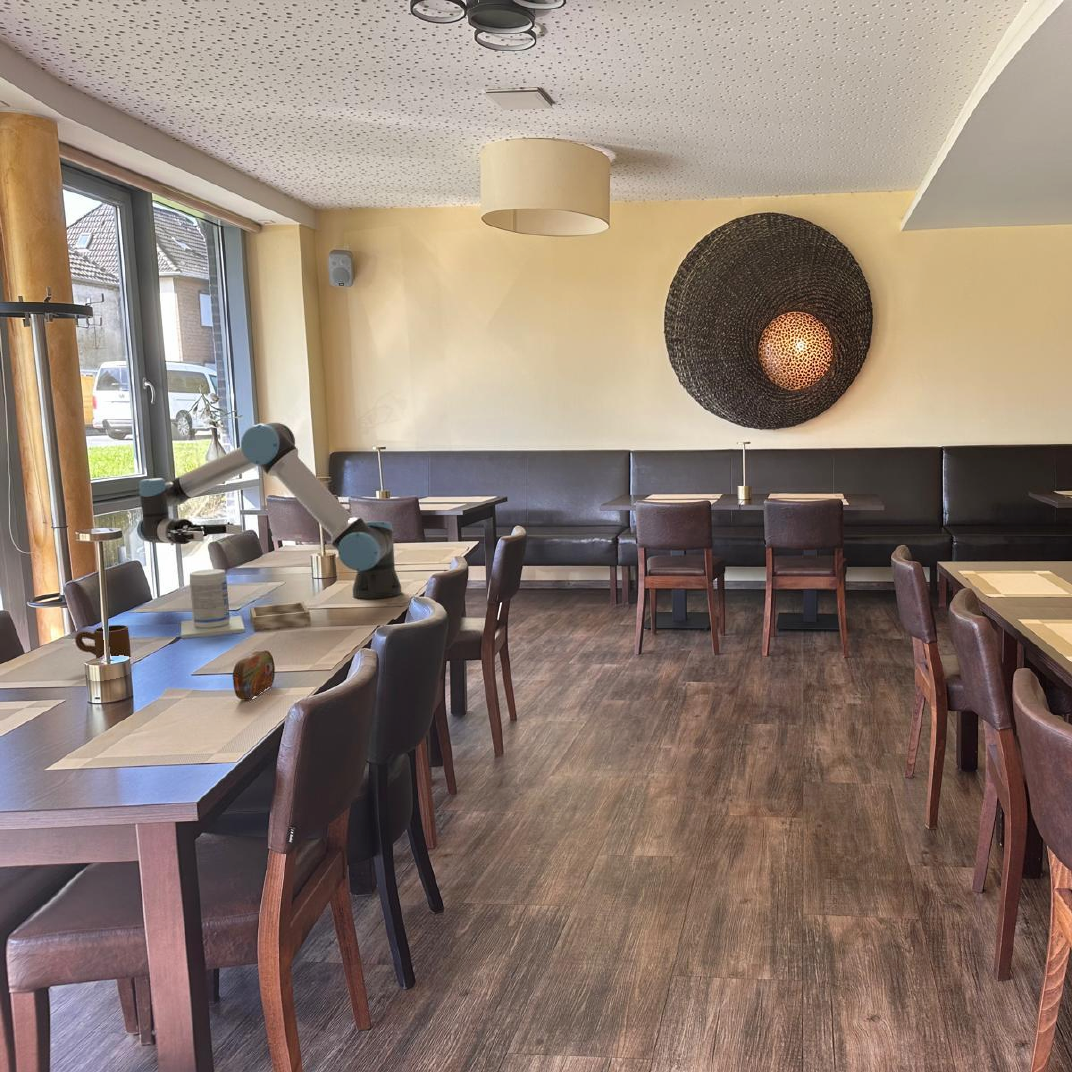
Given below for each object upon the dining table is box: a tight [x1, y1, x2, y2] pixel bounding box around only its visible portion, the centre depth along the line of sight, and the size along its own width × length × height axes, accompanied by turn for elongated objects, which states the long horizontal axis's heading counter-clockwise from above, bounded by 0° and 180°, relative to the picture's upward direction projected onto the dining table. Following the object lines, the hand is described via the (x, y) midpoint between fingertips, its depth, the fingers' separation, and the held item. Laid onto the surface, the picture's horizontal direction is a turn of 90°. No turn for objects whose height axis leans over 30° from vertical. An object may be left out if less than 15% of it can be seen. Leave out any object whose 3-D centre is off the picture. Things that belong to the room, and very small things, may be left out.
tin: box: [232, 650, 276, 701], centre depth 215 cm, size 15×3×8 cm, turn 170°
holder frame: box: [249, 601, 311, 630], centre depth 286 cm, size 15×15×4 cm
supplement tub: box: [189, 568, 231, 628], centre depth 279 cm, size 10×10×15 cm
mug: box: [74, 624, 132, 660], centre depth 241 cm, size 12×8×9 cm, turn 97°
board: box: [180, 615, 245, 640], centre depth 280 cm, size 16×18×1 cm
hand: (222, 533), depth 293 cm, fingers open, 13 cm apart
